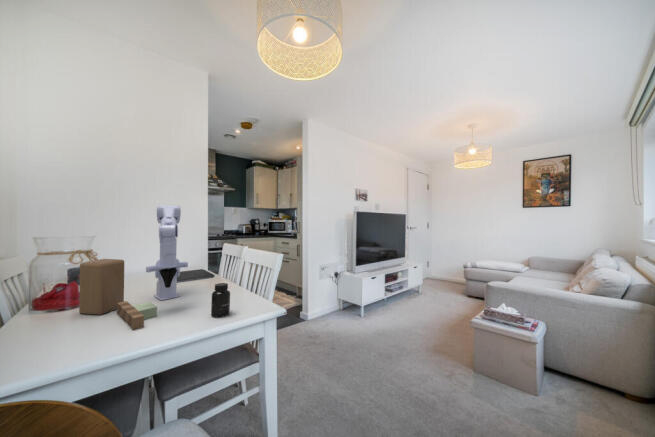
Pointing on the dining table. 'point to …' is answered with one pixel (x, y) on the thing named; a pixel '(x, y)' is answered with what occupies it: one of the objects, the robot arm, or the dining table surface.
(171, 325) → the dining table surface
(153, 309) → the sage block
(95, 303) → the block
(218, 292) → the supplement bottle
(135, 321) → the notched wooden bar
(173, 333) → the dining table surface
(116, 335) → the dining table surface
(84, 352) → the dining table surface
